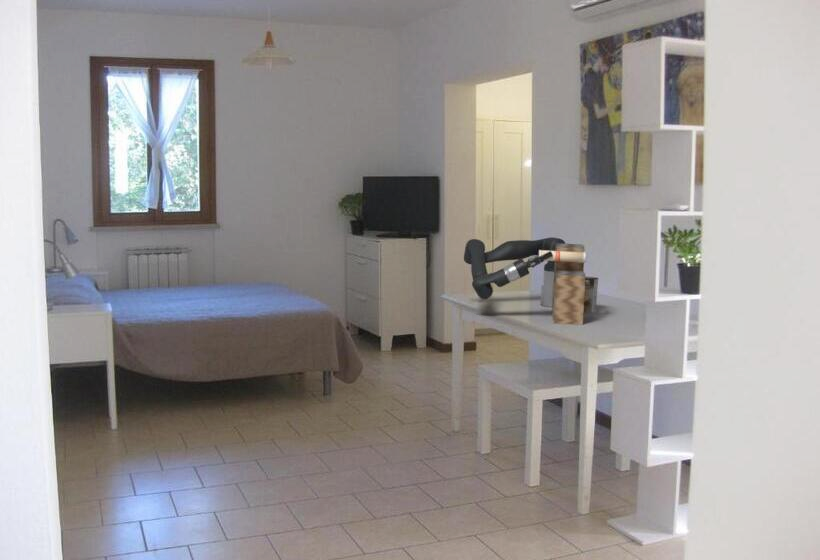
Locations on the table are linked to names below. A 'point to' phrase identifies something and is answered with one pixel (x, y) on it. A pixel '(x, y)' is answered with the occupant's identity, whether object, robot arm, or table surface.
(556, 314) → the stand
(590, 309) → the coffee box
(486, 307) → the table surface
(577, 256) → the cream long cylinder
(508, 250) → the robot arm
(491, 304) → the table surface
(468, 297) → the table surface
